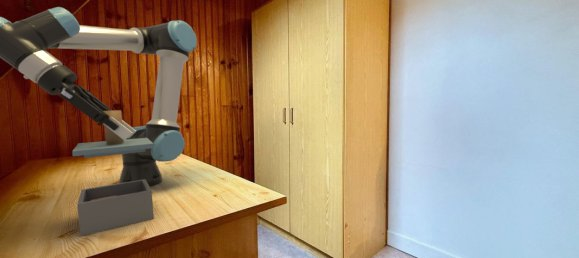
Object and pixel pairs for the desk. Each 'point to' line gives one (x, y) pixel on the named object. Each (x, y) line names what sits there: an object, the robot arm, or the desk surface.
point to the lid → (112, 143)
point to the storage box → (114, 206)
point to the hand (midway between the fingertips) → (130, 135)
